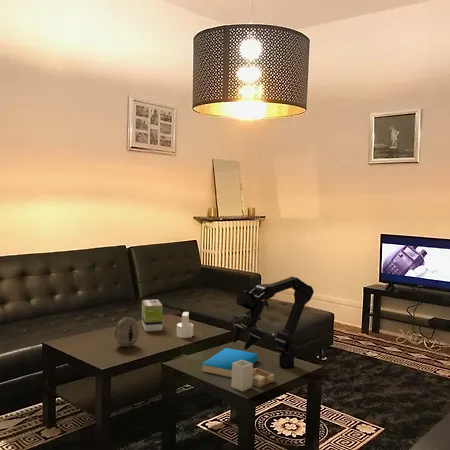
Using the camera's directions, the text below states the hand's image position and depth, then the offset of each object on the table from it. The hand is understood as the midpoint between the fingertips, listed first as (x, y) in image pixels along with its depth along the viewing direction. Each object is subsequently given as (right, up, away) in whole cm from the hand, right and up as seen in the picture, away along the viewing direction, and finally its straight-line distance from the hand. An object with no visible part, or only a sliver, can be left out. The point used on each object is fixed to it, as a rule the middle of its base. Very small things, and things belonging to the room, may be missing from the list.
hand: (239, 345), depth 212 cm
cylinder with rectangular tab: (-28, -9, +57) cm, 64 cm away
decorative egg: (-56, -9, +35) cm, 66 cm away
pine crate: (+7, -14, -4) cm, 16 cm away
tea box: (-48, -7, +71) cm, 86 cm away
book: (-4, -13, +13) cm, 19 cm away
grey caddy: (+1, -14, -11) cm, 18 cm away
